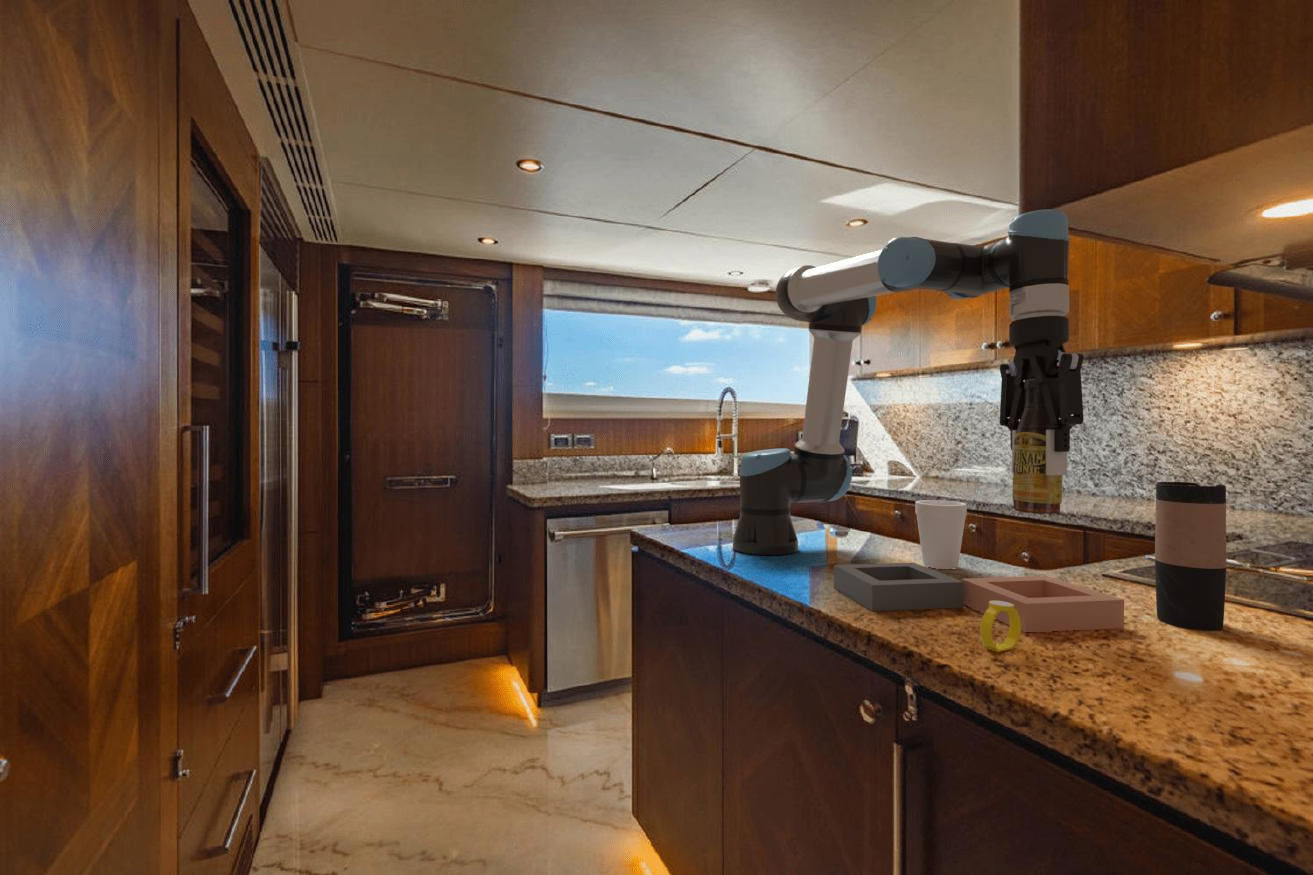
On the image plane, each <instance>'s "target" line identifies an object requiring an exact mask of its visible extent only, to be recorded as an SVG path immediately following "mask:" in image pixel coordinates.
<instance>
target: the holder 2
mask: <svg viewBox="0 0 1313 875" xmlns="http://www.w3.org/2000/svg"><path fill="white" fill-rule="evenodd" d="M960 581H962V582H963V604H964V605H963V606H965V605H966V606H965V607H967V606H968V607H967V608H969V607H970V608H969V609H971V610H974V611H976V612H978V611H980V612H983V613H985V612H986V610H987V609H988V608H989V601H1004V602H1009V603H1012V604H1013V605H1014V609H1016V611H1017V612H1018V615H1019V617H1020V620H1021V632H1022V631H1023V633H1025V632H1037V633H1053V632H1052V631H1058V632H1074V631H1073V630H1076V631H1077V630H1079V631H1093V630H1094V631H1095V630H1096V631H1097V630H1113V629H1114V630H1117V629H1125V599H1124V598H1119V597H1116V596H1113V595H1110V594H1107V593H1103V592H1100V591H1096V590H1093V589H1091V588H1087V587H1085V586H1081V585H1078V584H1075V583H1071V582H1068V581H1064V580H1061V579H1058V578H1055V577H1052V576H1048V575H1035V576H1032V575H1031V576H1030V575H1029V576H1027V575H1026V576H1006V577H1005V576H1001V577H997V576H996V577H977V578H975V577H973V578H972V577H971V578H961V579H960ZM980 612H979V613H980ZM983 613H982V614H983ZM995 618H996V619H998V620H1000V621H1002V622H1001V623H1003V622H1004V623H1003V624H1005V625H1007V624H1008V626H1009V625H1010V623H1009V616H1008V613H1007V611H1000V612H999V613H998V614H997V616H996V617H995ZM996 619H995V620H996ZM998 620H997V621H998ZM1000 621H999V622H1000ZM1067 630H1068V631H1067ZM1076 631H1075V632H1076Z"/></svg>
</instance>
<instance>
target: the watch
mask: <svg viewBox="0 0 1313 875" xmlns="http://www.w3.org/2000/svg"><path fill="white" fill-rule="evenodd" d="M1000 611H1007V613H1008V616H1009V623H1010V626H1009V629H1008V632H1007V635H1006V638H1005V639H1004V640H1003V643H1000V644H996V645H995V644H994V641H993V640H994V639H993V637H992V636H993V635H992V634H993V625H994V622H995V620H996V619H995V617H996V616H997V614H998V613H999V612H1000ZM980 622H981V623H980V629H979V630H980V638H981V641H982V645H984V646H985V647H986V648H987V649H988V650H989V651H992V652H995V653H1001V652H1004V651H1011V650H1014V648H1015V647H1016V645H1017V643H1019V640H1020V637H1021V633H1022V631H1021V620H1020V617H1019V615H1018V612H1017V611H1016V609H1014V605H1013V604H1012V603H1009V602H1004V601H989V608H988V609H987V610H986V612H985V613H984V614H983V615H982V618H981V621H980Z"/></svg>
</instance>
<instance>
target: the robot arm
mask: <svg viewBox="0 0 1313 875" xmlns="http://www.w3.org/2000/svg"><path fill="white" fill-rule="evenodd" d="M1068 220H1069V218H1068V215H1067V214H1066V213H1065V212H1064V211H1062V210H1059V209H1052V208H1050V209H1049V208H1048V209H1038V210H1037V209H1036V210H1032V211H1028V212H1024V213H1021V214H1019V215H1017V216H1016V217H1015V218H1014V219H1012V220H1011V221H1010V223H1009V225H1008V228H1009V229H1008V231H1007V235H1008V236H1007V237H1005V238H1003V239H1000V240H998V241H995V242H992V243H989V244H986V245H972V244H965V243H957V242H949V241H943V240H942V241H941V240H937V239H936V240H934V239H929V238H928V239H927V238H923V237H919V236H907V237H906V236H899V237H894V238H892V239H890V240H889V241H888V243H887V244H886V245H884V246H883V248H882V249H880V250H877V251H874V252H870V253H865V254H862V255H857V256H855V257H851V258H847V259H843V260H840V261H836V262H832V263H828V264H825V265H821V266H818V267H816V266H815V265H807V264H805V265H802V266H798V267H795V268H792V269H790V270H788V271H786V272H785V273H783V275H782V276H781V277H780V279H779V280H778V282H777V284H776V287H775V301H776V304H777V306H778V307H779V309H780V311H781V312H782V313H783V314H784V315H785V316H787V317H788V318H789V319H793V320H795V321H798V322H805V323H809V324H808V332H809V333H810V334H811V335H812V336H813V345H812V347H813V348H812V355H811V362H810V368H809V369H810V371H809V376H808V380H809V381H808V386H807V387H808V388H807V394H806V395H807V396H806V404H805V410H804V411H805V412H804V418H803V419H804V420H803V428H802V436H801V438H800V439H799V440H798V441H796V442H795V443H794V449H793V453H792V452H791V449H789V448H783V447H782V448H771V449H770V448H769V449H768V448H767V449H760V450H754V451H750V452H747V453H745V454H743V455H742V456H741V459H740V466H739V473H738V474H739V492H740V493H739V506H740V507H739V519H738V522H737V525H736V528H735V530H734V534H733V537H732V549H733V550H735V551H737V552H739V553H743V554H750V555H760V556H761V555H762V556H778V555H779V556H780V555H791V554H793V553H794V554H795V553H796V552H798V551H799V540H798V537H797V533H796V530H795V527H794V523H793V520H792V517H791V504H798V503H801V504H802V503H826V502H832V501H837V500H839V499H840V498H842V497H843V496H844V495H846V493H847V492H848V490H849V488H850V486H851V483H852V479H853V468H852V467H850V466H851V461H850V460H849V458H848V457H847V456H846V455H845V452H846V451H845V448H844V447H843V445H841V444H840V439H841V438H840V437H841V430H842V422H843V414H844V409H845V401H846V393H847V386H848V378H849V371H850V363H851V357H852V356H851V354H852V350H853V342H854V340H855V339H857V337H859V336H860V335H862V334H861V333H862V327H863V326H865V325H866V324H868V323H869V322H870V321H871V320H872V317H873V316H874V315H875V313H876V309H877V302H878V301H877V296H883V295H888V294H894V293H902V292H907V291H913V290H927V291H928V290H929V291H940V292H943V293H945V294H946V295H948V296H949V297H950V298H951V299H954V300H966V299H969V298H970V299H974V298H978V297H981V296H983V295H987V294H991V293H994V292H997V291H1001V290H1003V289H1007V288H1009V289H1008V291H1009V318H1010V319H1011V320H1013V321H1011V322H1010V324H1009V327H1008V339H1009V340H1008V342H1009V346H1010V347H1011V348H1014V350H1015V352H1014V356H1013V358H1012V360H1013V361H1011V362H1009V363H1002V364H1000V366H999V373H1000V377H1001V382H1000V383H1001V388H1000V389H1001V390H1000V402H999V403H1000V405H999V408H1000V410H999V425H1000V426H1002V427H1006V428H1008V430H1009V431H1010V432H1009V433H1010V435H1009V436H1010V445H1009V446H1010V451H1011V472H1012V473H1013V466H1014V464H1013V463H1014V437H1015V434H1016V431H1017V428H1018V426H1019V423H1020V420H1021V417H1022V414H1023V412H1024V409H1025V400H1026V399H1025V398H1026V396H1025V395H1026V391H1025V389H1024V385H1025V381H1026V380H1030V379H1036V382H1037V384H1038V385H1039V386H1041V389H1042V393H1043V397H1044V401H1045V405H1046V409H1047V413H1048V417H1049V421H1050V425H1048V426H1046V427H1047V429H1054V430H1046V475H1063V476H1068V453H1069V452H1070V449H1071V429H1073V427H1075V426H1077V425H1082V424H1083V423H1084V405H1083V404H1084V403H1083V390H1082V389H1083V387H1082V373H1081V371H1082V366H1083V361H1084V354H1082V353H1068V352H1066V349H1065V346H1064V345H1065V344H1066V343H1068V342H1069V339H1070V319H1069V318H1068V317H1067V316H1066V315H1068V313H1070V283H1069V260H1070V259H1069V258H1070V257H1069V256H1070V242H1071V238H1070V235H1069V234H1070V233H1069V221H1068ZM1020 223H1021V224H1020Z"/></svg>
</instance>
